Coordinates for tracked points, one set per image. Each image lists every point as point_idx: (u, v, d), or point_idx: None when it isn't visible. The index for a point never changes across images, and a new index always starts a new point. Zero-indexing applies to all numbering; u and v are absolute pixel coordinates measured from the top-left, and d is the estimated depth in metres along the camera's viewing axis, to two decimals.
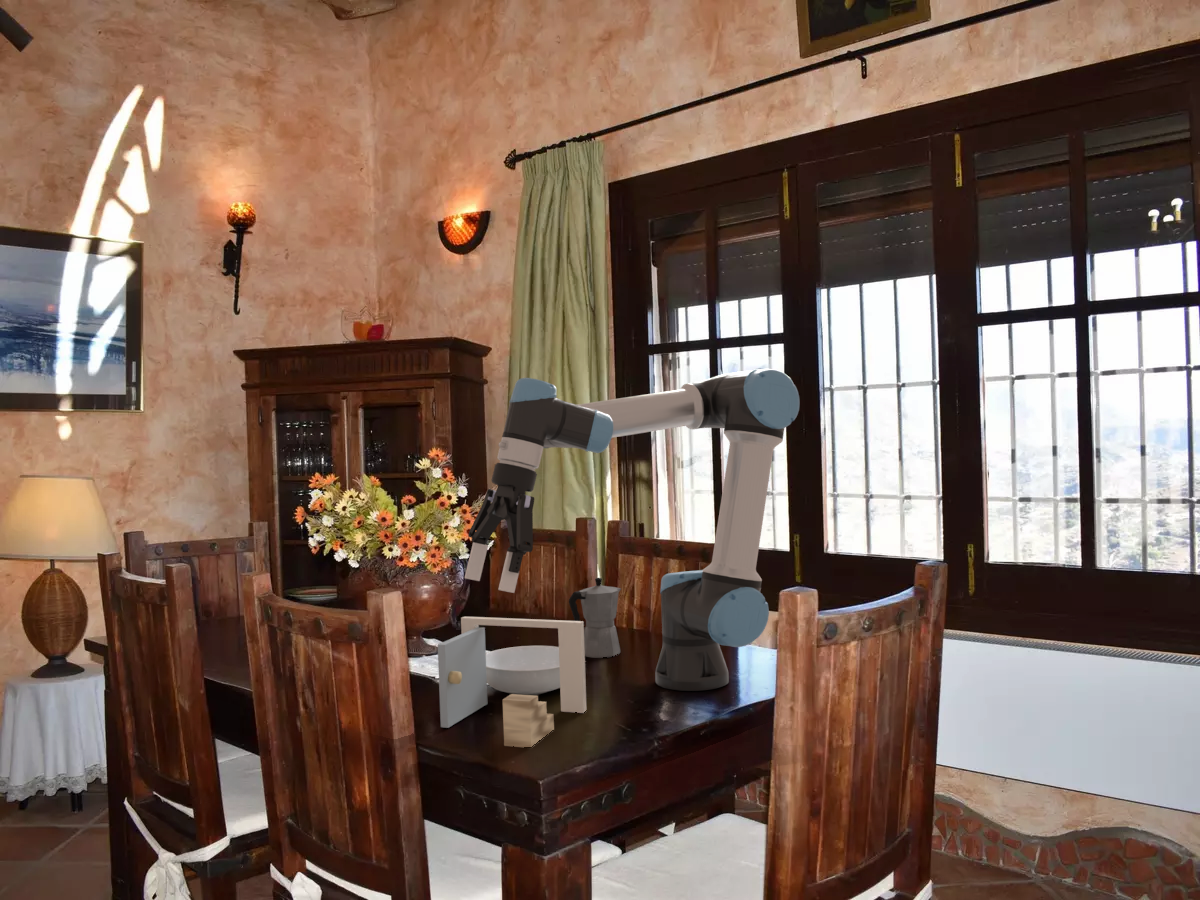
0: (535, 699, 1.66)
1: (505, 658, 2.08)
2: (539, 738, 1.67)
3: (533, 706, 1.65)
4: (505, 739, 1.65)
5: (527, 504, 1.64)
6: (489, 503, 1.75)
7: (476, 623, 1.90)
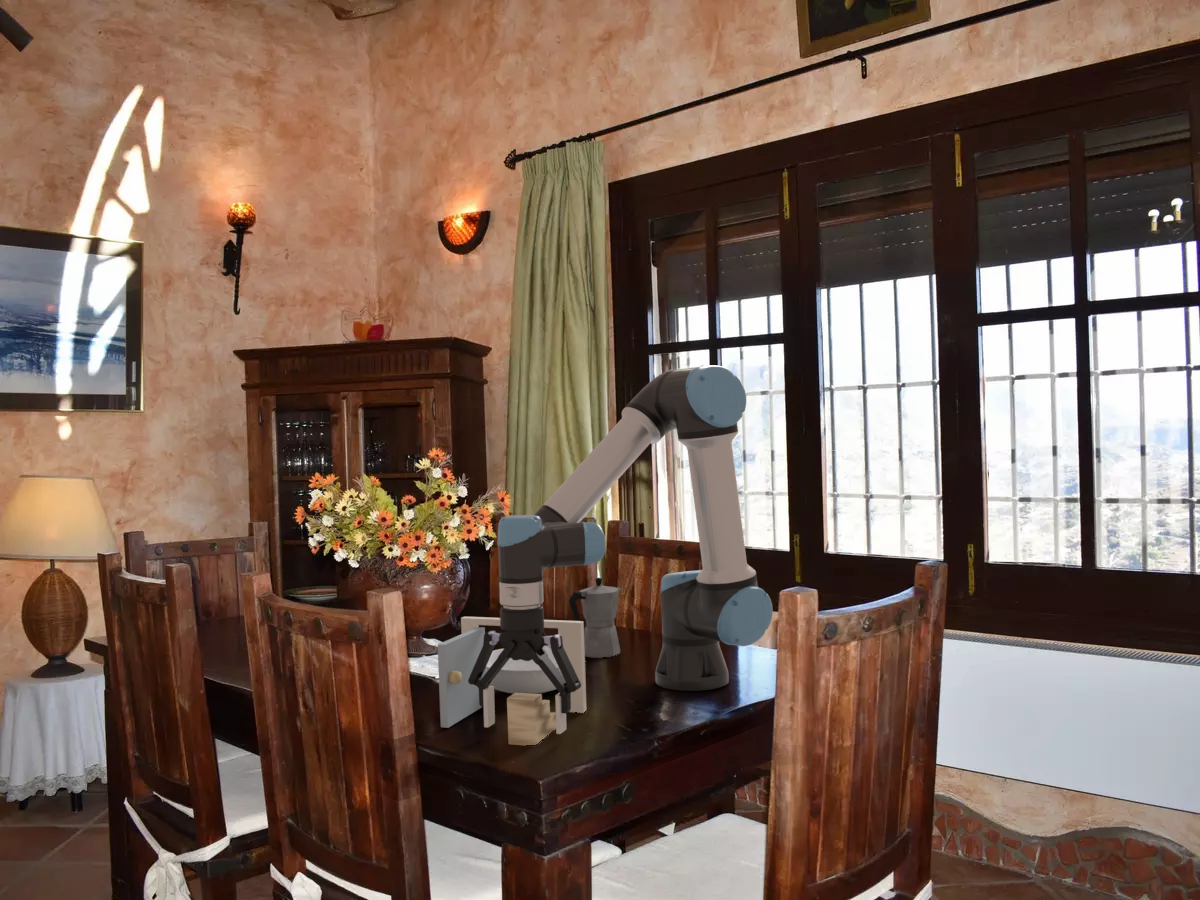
0: (539, 697, 1.67)
1: None
2: (543, 736, 1.68)
3: (537, 705, 1.66)
4: (510, 737, 1.66)
5: (559, 644, 1.66)
6: (490, 646, 1.69)
7: (476, 623, 1.90)
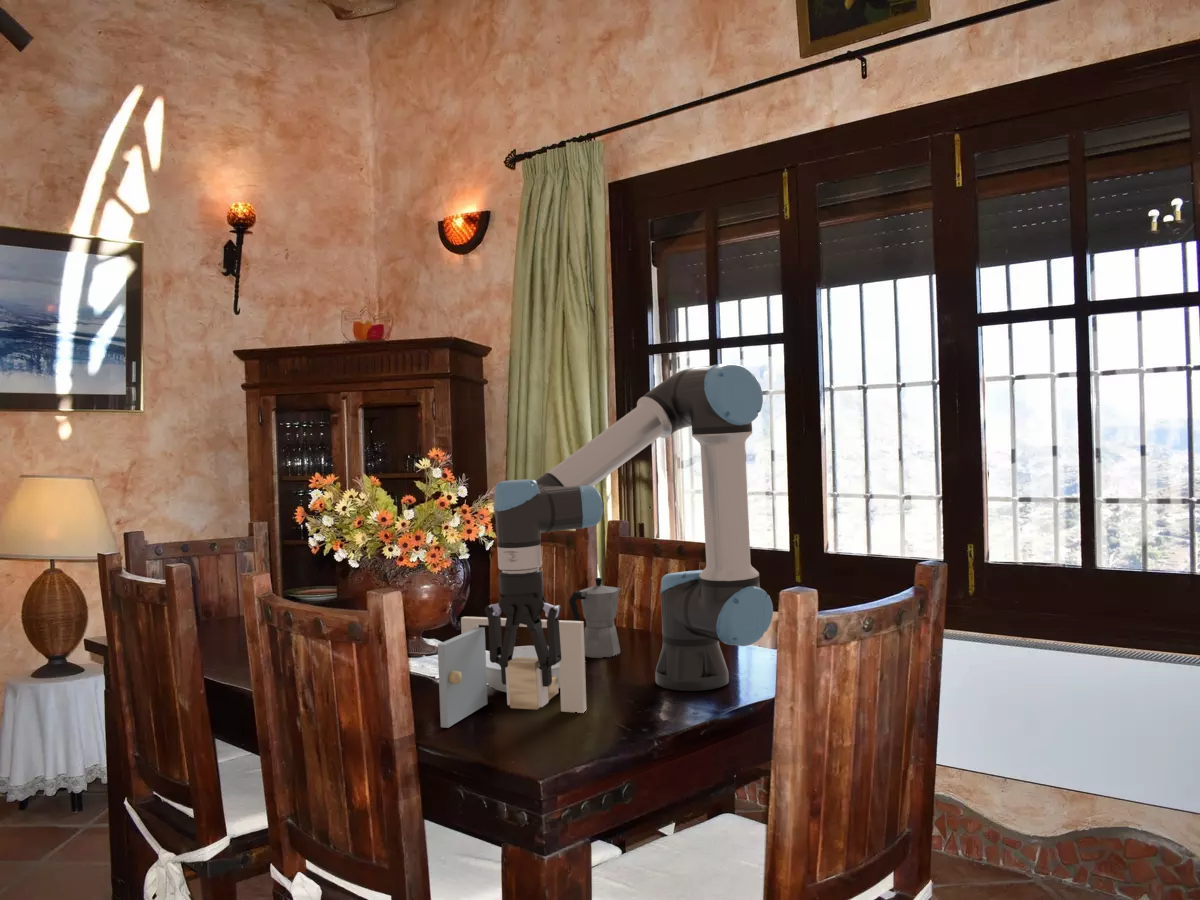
0: None
1: None
2: None
3: None
4: (511, 700, 1.67)
5: (556, 616, 1.66)
6: (495, 618, 1.69)
7: (476, 623, 1.90)
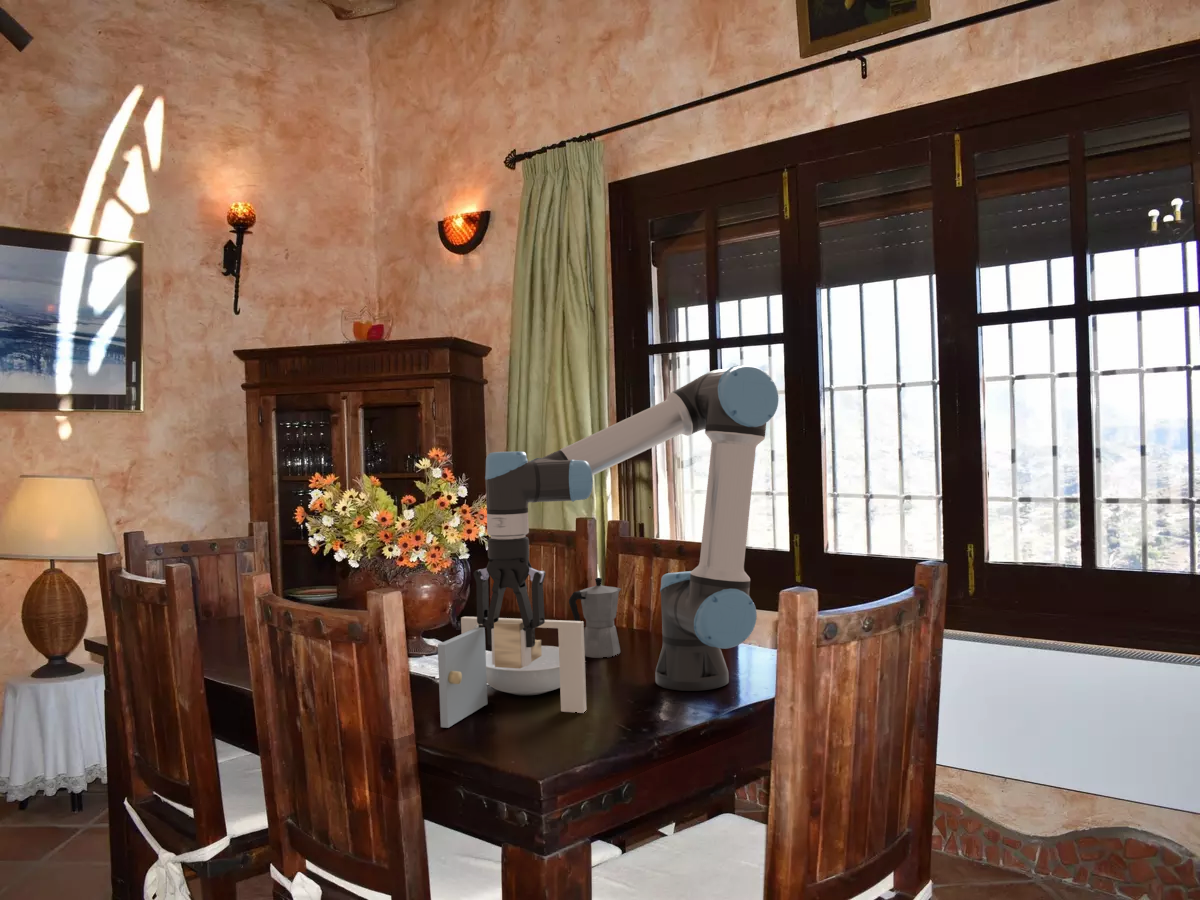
0: None
1: None
2: None
3: None
4: (496, 660, 1.76)
5: (541, 580, 1.75)
6: (483, 582, 1.78)
7: (476, 623, 1.90)
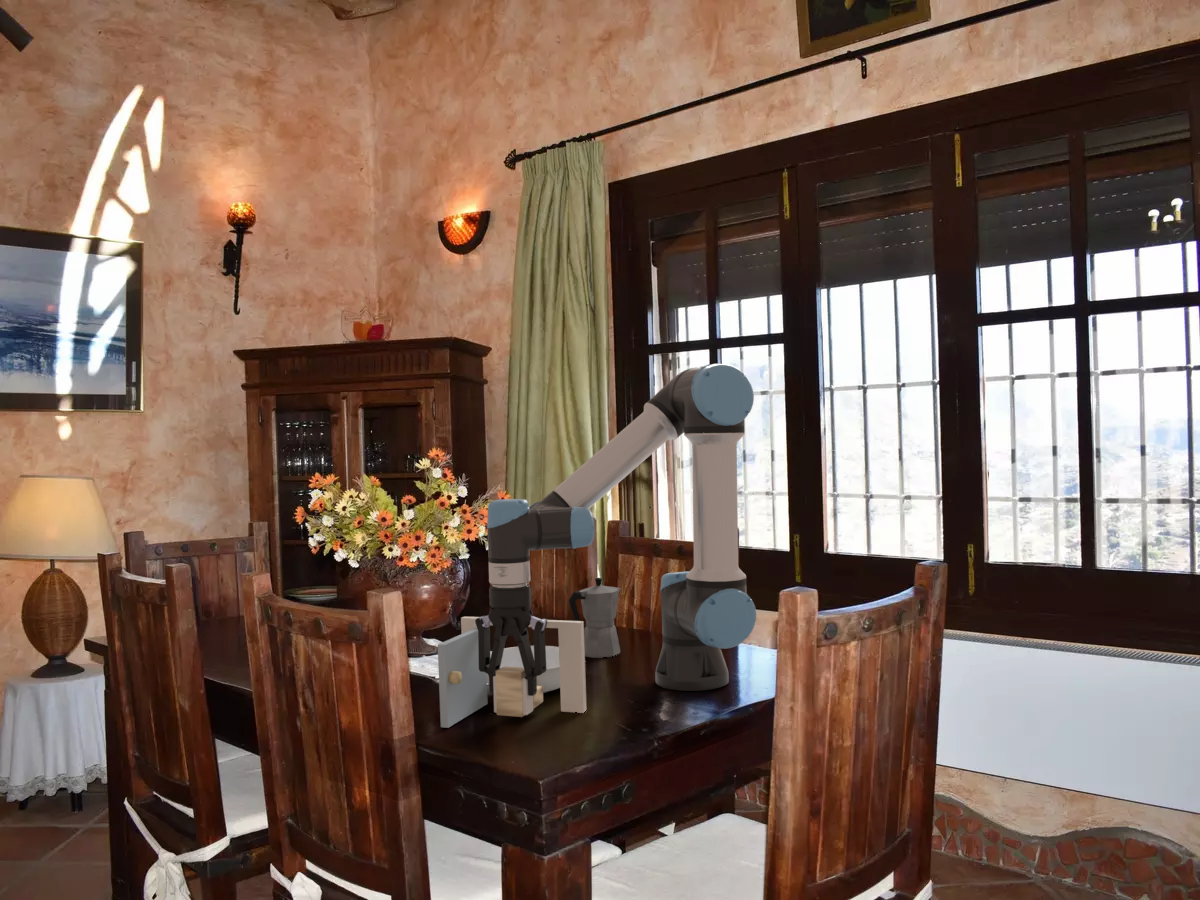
0: None
1: (505, 658, 2.08)
2: None
3: None
4: (498, 708, 1.77)
5: (543, 629, 1.75)
6: (485, 629, 1.79)
7: None
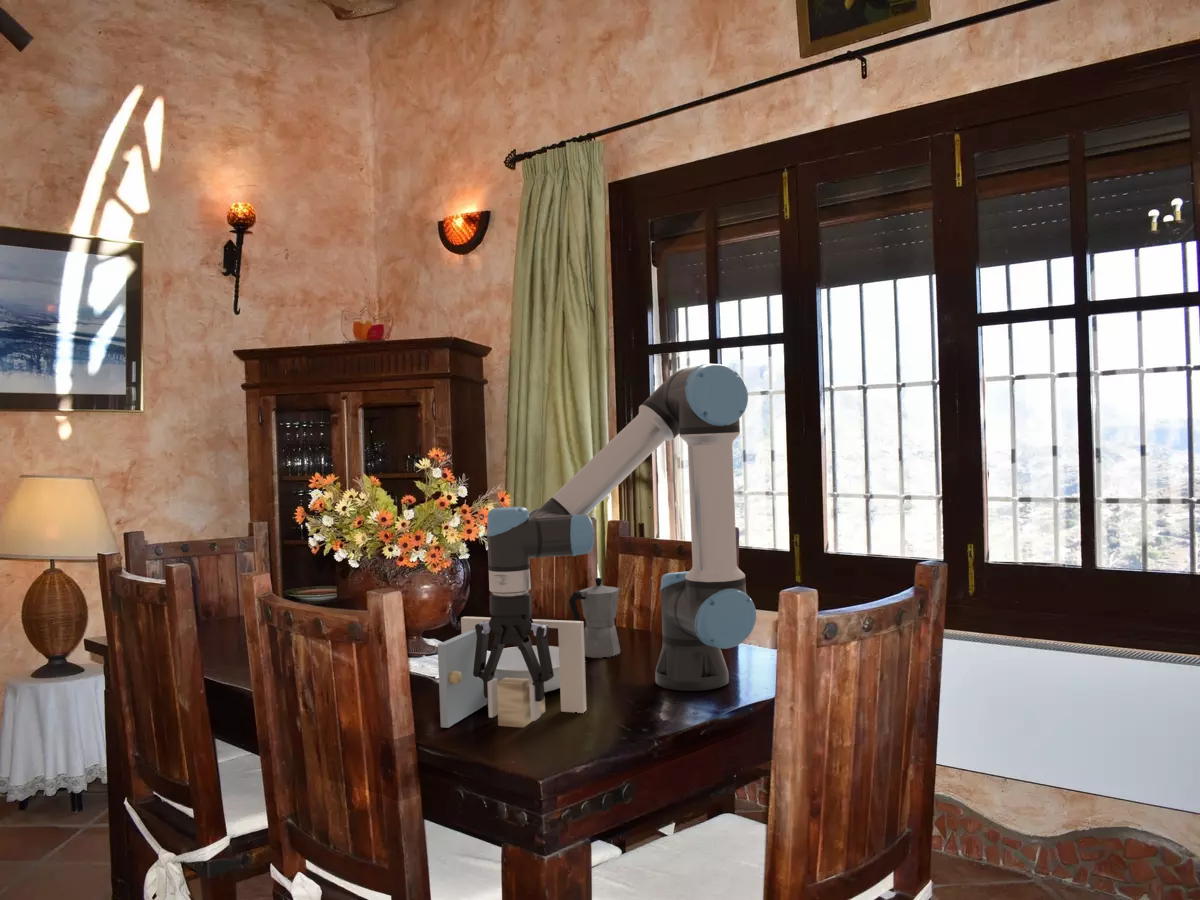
0: (527, 682, 1.77)
1: (505, 658, 2.08)
2: None
3: (525, 688, 1.77)
4: (499, 719, 1.77)
5: (544, 634, 1.75)
6: (484, 636, 1.79)
7: (476, 623, 1.90)
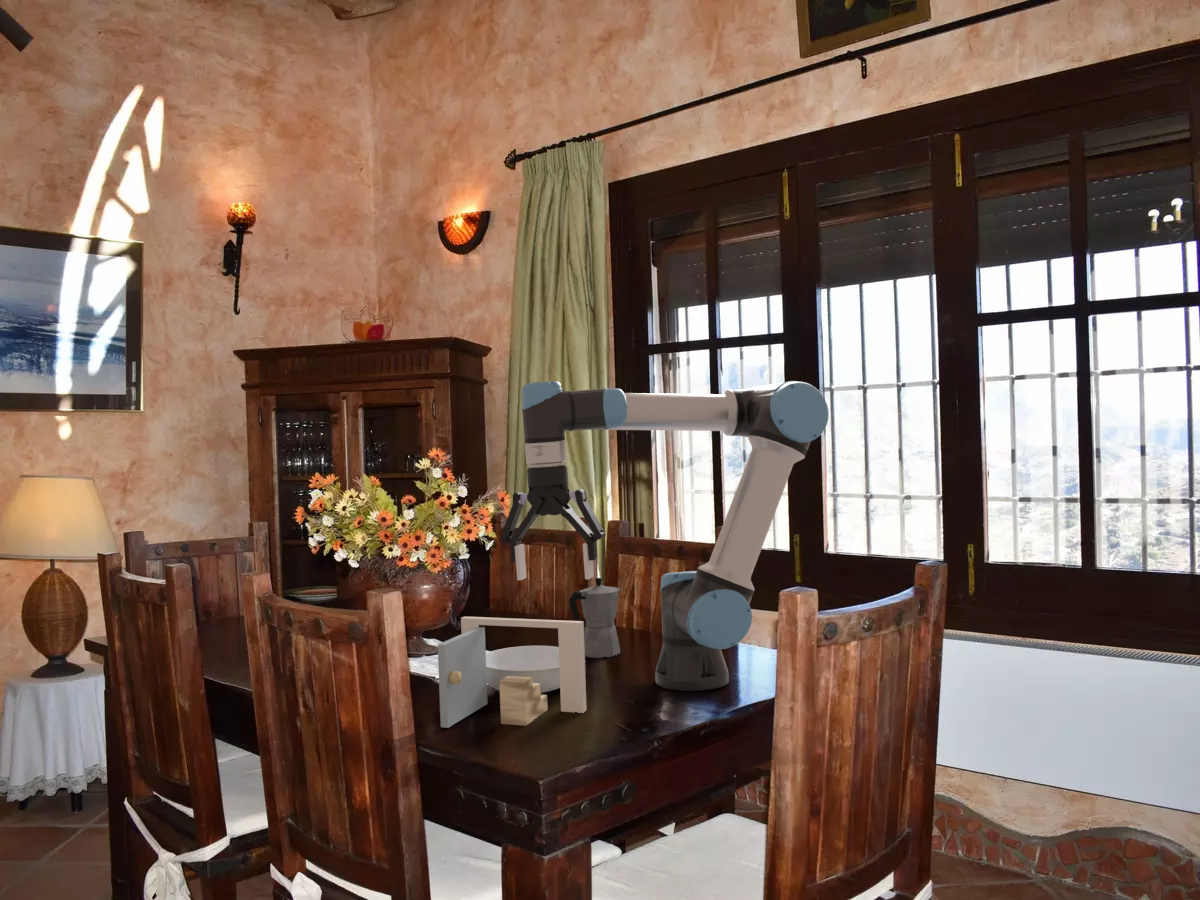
0: (530, 680, 1.78)
1: (505, 658, 2.08)
2: (533, 717, 1.80)
3: (528, 687, 1.78)
4: (502, 717, 1.78)
5: (584, 497, 1.79)
6: (519, 506, 1.83)
7: (476, 623, 1.90)
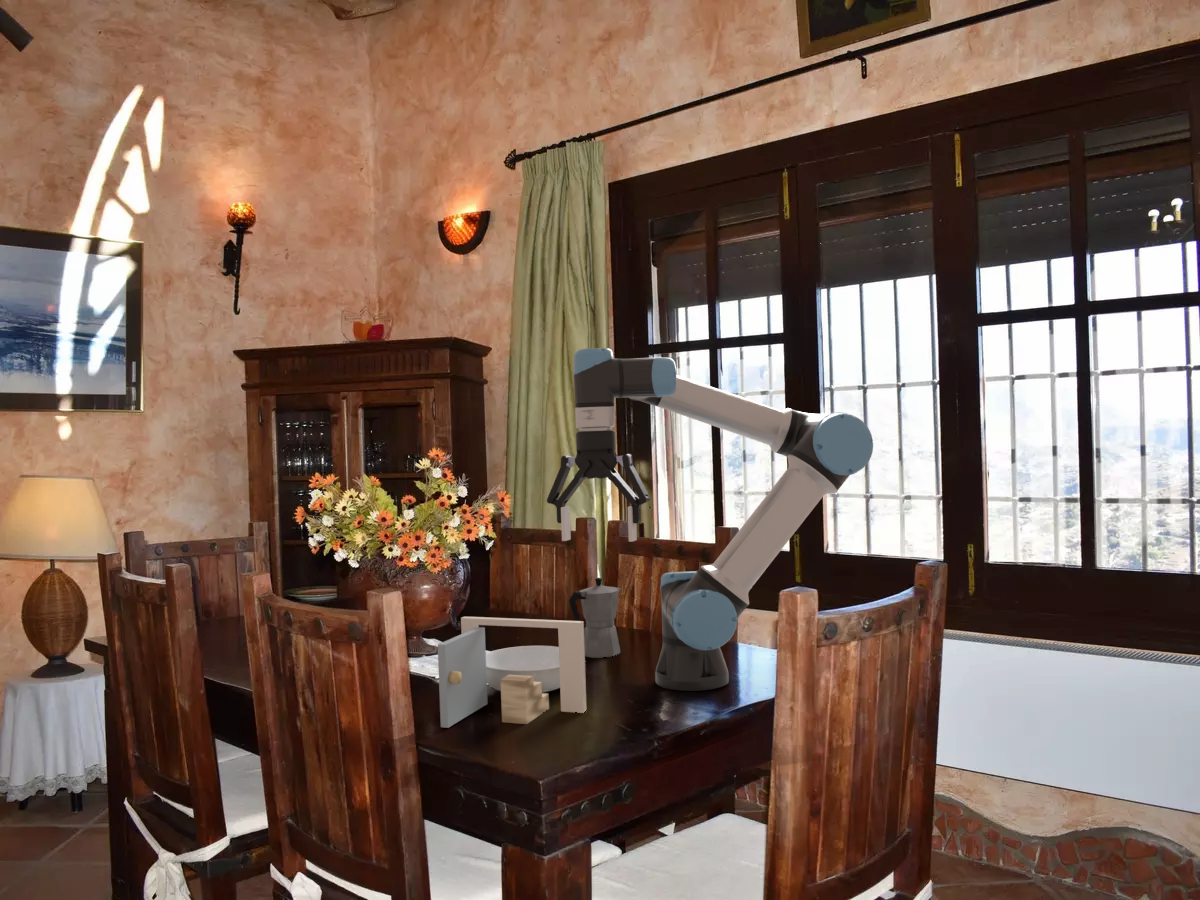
0: (531, 679, 1.79)
1: (505, 658, 2.08)
2: (534, 715, 1.81)
3: (528, 686, 1.79)
4: (503, 716, 1.79)
5: (630, 462, 1.84)
6: (567, 468, 1.88)
7: (476, 623, 1.90)
